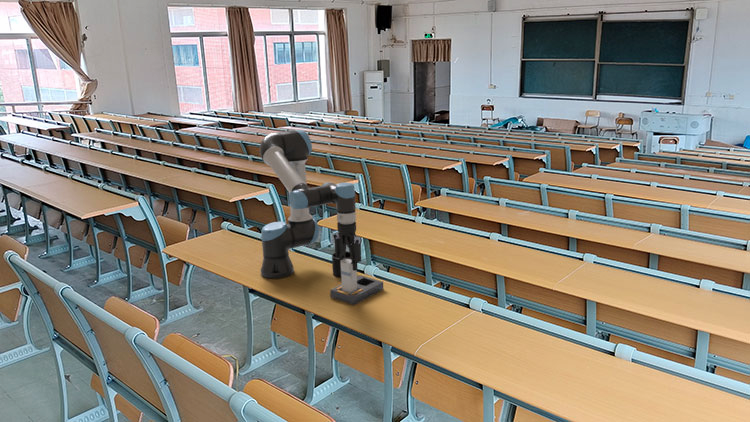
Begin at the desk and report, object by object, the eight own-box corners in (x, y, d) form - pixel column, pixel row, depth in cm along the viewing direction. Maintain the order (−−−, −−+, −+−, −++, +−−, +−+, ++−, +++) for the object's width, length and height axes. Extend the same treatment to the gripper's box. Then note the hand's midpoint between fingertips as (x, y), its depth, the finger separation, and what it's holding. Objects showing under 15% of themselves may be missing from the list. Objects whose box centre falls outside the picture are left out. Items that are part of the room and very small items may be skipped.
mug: (344, 280, 246) (344, 261, 244) (328, 273, 255) (327, 255, 253) (361, 274, 252) (360, 256, 250) (344, 267, 261) (343, 249, 259)
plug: (341, 293, 229) (340, 261, 225) (349, 289, 232) (347, 258, 228) (350, 296, 226) (348, 264, 222) (357, 292, 229) (356, 260, 225)
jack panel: (330, 297, 230) (330, 288, 229) (360, 282, 244) (360, 274, 243) (354, 305, 222) (353, 296, 221) (383, 289, 236) (383, 281, 235)
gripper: (324, 220, 223) (327, 273, 230) (357, 227, 212) (359, 283, 219) (336, 215, 229) (339, 268, 235) (369, 223, 218) (371, 277, 224)
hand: (348, 275), depth 227 cm, fingers closed on plug, 5 cm apart
